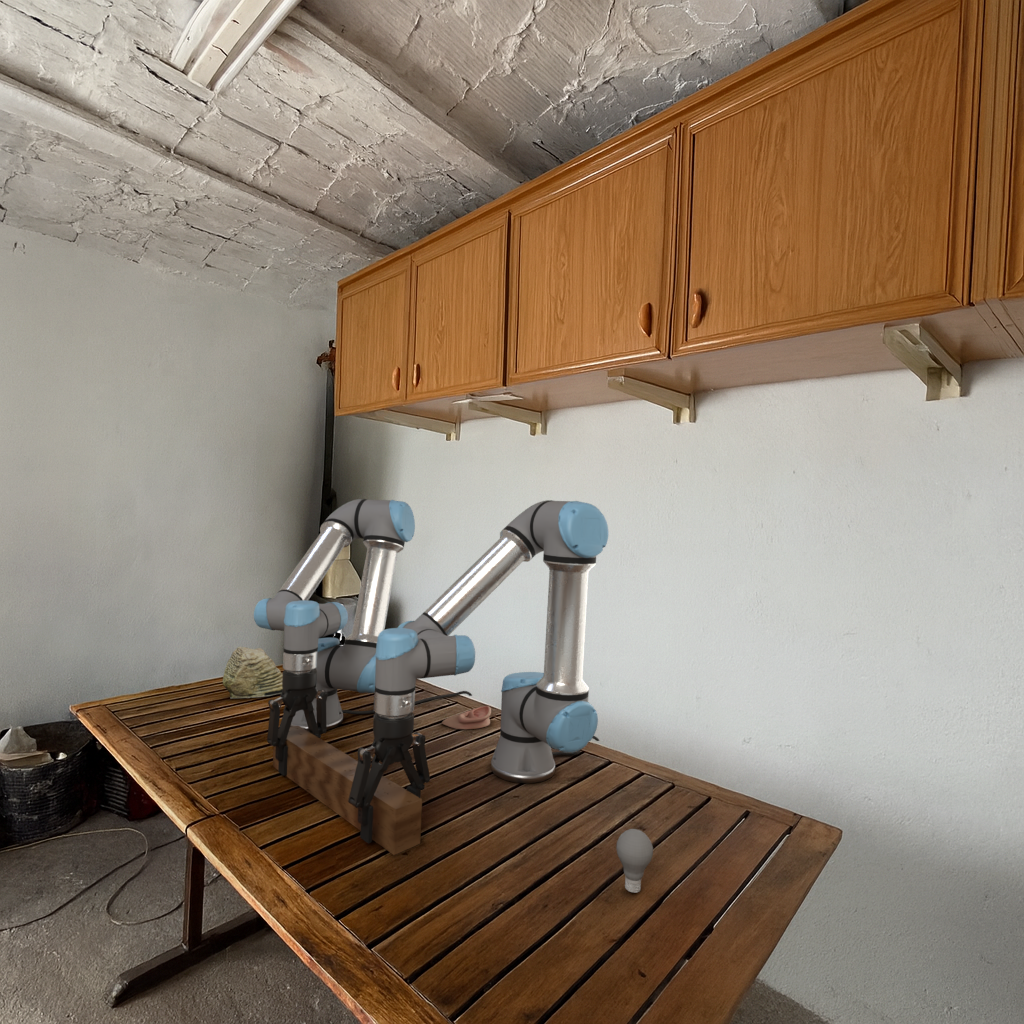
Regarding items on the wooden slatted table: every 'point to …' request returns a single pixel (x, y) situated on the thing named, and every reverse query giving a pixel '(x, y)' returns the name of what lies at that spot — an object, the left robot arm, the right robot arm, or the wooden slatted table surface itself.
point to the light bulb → (634, 857)
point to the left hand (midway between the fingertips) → (296, 769)
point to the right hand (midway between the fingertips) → (389, 830)
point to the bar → (331, 784)
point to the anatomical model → (470, 719)
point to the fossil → (251, 674)
